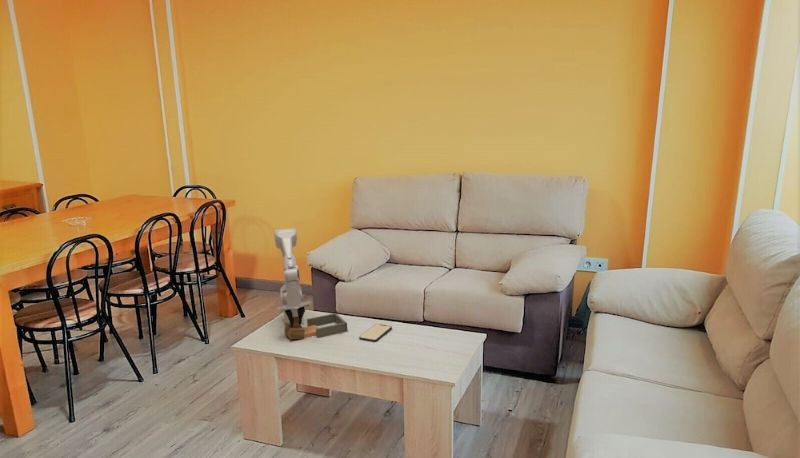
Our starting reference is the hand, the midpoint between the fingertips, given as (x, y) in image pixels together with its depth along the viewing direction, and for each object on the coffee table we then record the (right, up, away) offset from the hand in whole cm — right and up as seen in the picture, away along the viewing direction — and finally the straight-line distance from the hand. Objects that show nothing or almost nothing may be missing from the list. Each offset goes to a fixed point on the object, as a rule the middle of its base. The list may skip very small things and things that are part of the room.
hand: (295, 324), depth 258 cm
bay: (+13, -3, +7) cm, 15 cm away
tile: (+6, -5, +4) cm, 8 cm away
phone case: (+35, -5, 0) cm, 35 cm away
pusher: (-1, -5, +1) cm, 5 cm away
